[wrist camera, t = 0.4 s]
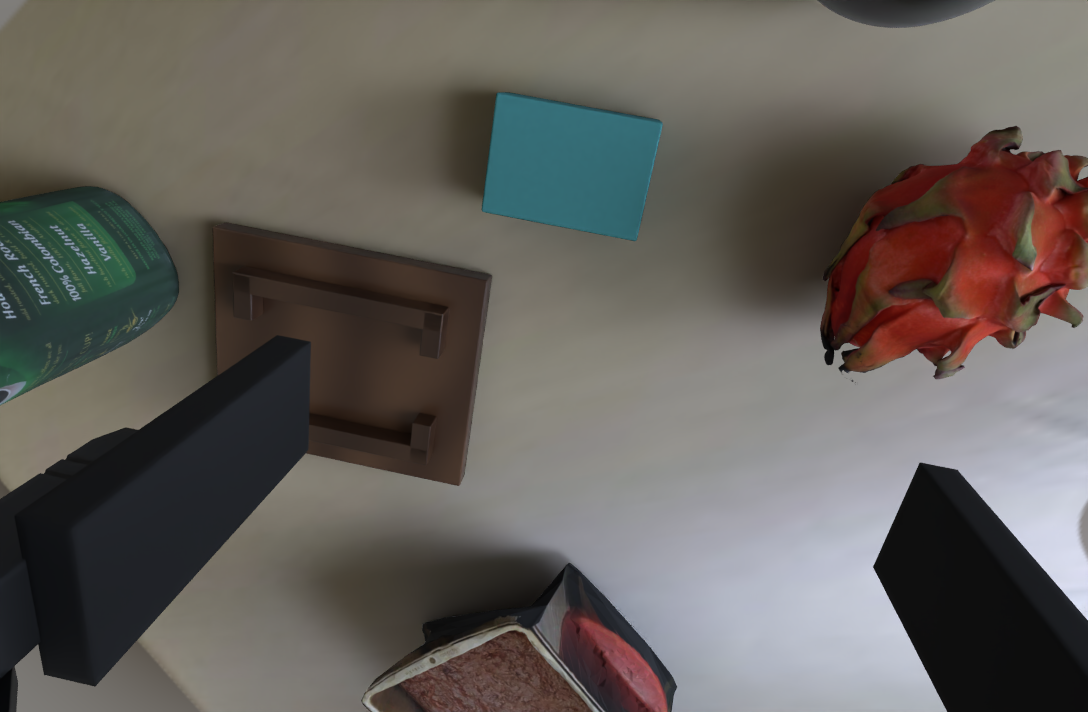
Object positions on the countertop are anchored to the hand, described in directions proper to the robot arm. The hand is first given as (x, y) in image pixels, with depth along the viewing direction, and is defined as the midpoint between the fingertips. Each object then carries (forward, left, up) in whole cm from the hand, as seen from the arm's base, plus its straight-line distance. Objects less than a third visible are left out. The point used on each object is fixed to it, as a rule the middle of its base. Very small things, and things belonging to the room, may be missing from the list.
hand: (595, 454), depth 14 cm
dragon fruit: (-3, +13, -19) cm, 24 cm away
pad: (-4, -3, -19) cm, 20 cm away
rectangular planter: (+26, +1, -19) cm, 33 cm away
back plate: (+8, -13, -19) cm, 24 cm away
